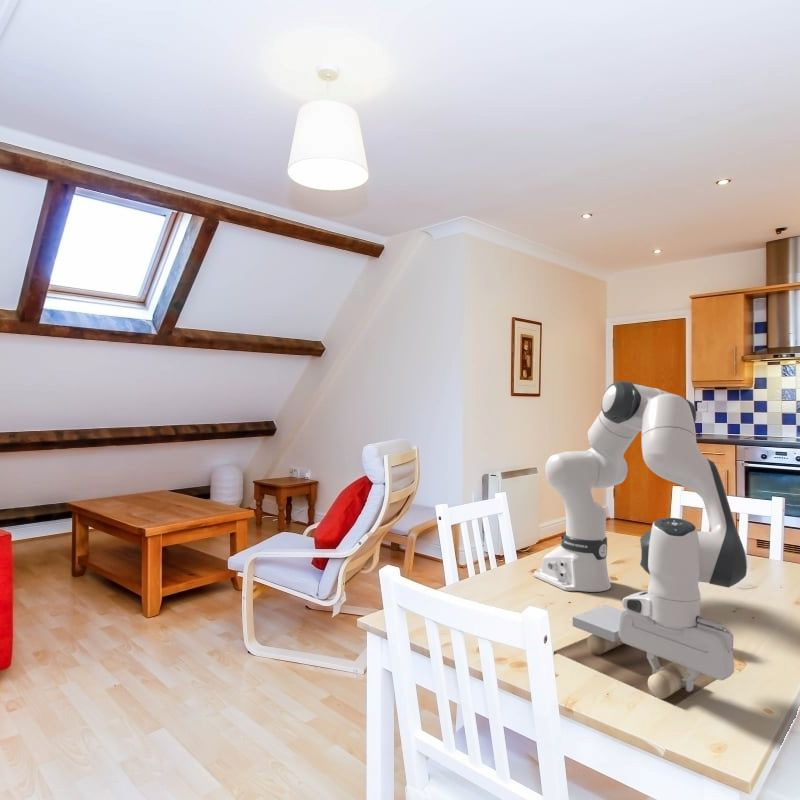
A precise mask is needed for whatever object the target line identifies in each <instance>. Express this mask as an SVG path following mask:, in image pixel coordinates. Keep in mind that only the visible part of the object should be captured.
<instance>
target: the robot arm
mask: <svg viewBox="0 0 800 800" xmlns="http://www.w3.org/2000/svg"><path fill="white" fill-rule="evenodd" d="M696 420H697V411H696V406H695V405H694V404H693V403H692V402H691V401H690V400H689V399H687V398H684V396H681V395H678V394H675V393H670V392H668V391H664V390H662V389H660V388H656V387H654V388H653V387H650V386H645V385H641V384H635V383H633V382H630V381H626V380H625V381H624V380H623V381H622V380H620V381H619V380H618V381H617V380H616V381H614V382H613V383H612V384H610V385H609V386H608V387H607V389H606V390H605V392H604V393H603V396H602V401H601V411H600V412H599V414H598V415H597V416H596V418H595V420H594V421H593V423H592V424H591V426H590V428H588V431H587V439H588V443H589V446H590V448H589V449H587V450H575V451H572V450H571V451H570V450H569V451H567V450H566V451H563V452H559V453H555V454H552V455H550V456H549V457H548V459H547V460H546V462H545V466H544V474H545V478H546V481H548V483H549V485H550V486H552V487H553V488H554V489H555V490H556V491H557V493H558V494H559V496H560V497H561V500H562V502H563V505H564V509H565V511H564V512H565V533H563V534H561V535H558V536H557V537H558V539H557V541H560V540H561V542H560V545H559V546H558V547H556V548H554V549H552V550H551V551H550V552H548V553H546V554H545V555H544V556H543V559H542V562H541V567H540V568H538V569H536V570H535V571H533V577H535V578H536V579H539V580H541V581H544V582H546V583H548V584H551V585H552V586H554V587H557V588H559V589H561V590H564V591H569V592H570V591H571V592H572V591H573V592H575V591H576V592H577V591H578V592H589V593H590V592H591V593H596V592H598V593H599V592H603V591H604V592H605V591H608V590H610V589H611V588H612V585H611V582H610V581H611V580H610V576H609V571H608V570H609V569H608V564H607V563H608V562H607V555H608V537H607V534H606V532H607V527H606V526H607V525H606V524H607V513H606V511H605V508H604V507H603V506H602V505H601V504H599V502H596V501H595V500H594V498H593V494H592V489H604V488H605V489H606V488H610V487H614V486H617V485H620V484H622V483H623V482H624V481H625V480H626V479H627V475H628V473H629V472H628V471H629V469H628V468H629V467H628V463H627V461H626V459H625V458H624V455H625V453H626V451H628V450H627V449H628V448H629V447H630V445H631V444H632V443H633V441H634V440H635V438H636V437H637V436H638V434H639V432H641V437H640V438H641V451H642V453H641V454H642V459H643V462H644V463H645V465H646V466H647V468H648V469H649V470H650V471H651V472H652V473H654V474H655V475H656V476H658V477H659V478H662V479H663V480H666V481H669V482H672V483H675V484H678V485H680V486H683V487H685V488H687V489H689V490H691V491H693V493H696V494H697V495H698V496H699V497H700V498H701V499H702V501H703V505H704V507H705V510H706V515H707V519H708V522H709V527H710V530H711V531H710V530H709V531H701V530H698V529H697V527H696V525H695V524H694V523H692V522H690V521H689V520H686V519H682V518H676V517H664V518H663V517H662V518H658V519H656V520H654V521H653V523H652V525H651V528H650V529H649V530H648V531H646V532H645V533H644V534H643V535H642V536H641V537H640V543H639V544H640V549H641V550H640V551H641V556H640V557H641V560H640V562H639V566H641V568H642V569H643V570H644V571H645V572H646V573H648V575H649V582H648V586H647V590H646V591H639V592H634V593H631V594H629V595H627V596H625V597H623V598H622V601H621V602H622V603H621V604H622V607H623V610H622V609H621V610H622V612H621V614H620V620H619V637H620V639H621V641H622V642H623V643H625V644H628V645H630V646H633V647H635V648H638V649H640V650H643V651H646V652H647V659H648V661H649V663H650V665H651V667H652V675H653V674H655V673H657V672H659V671H661V670H663V669H664V668H663V667H661V666H660V663H659V661H658V658H657V657H661V658H664V659H666V660H669V661H672V662H674V663H677V664H679V665H682V666H685V667H687V673H689V674H690V675H689V677H684V678H683V679H681V689H684V690H686V691H689V692H690V691H692V690H693V684H694V680H695V678H696V677H697V676H698V675H699V673H703V674H705V675H708V676H710V677H713V678H716V680H719V681H725V680H727V679H729V678H730V677H732V675H733V674H734V673H735V659H734V653H733V648H734V635H733V633H732V632H731V631H730V629H729V628H727V627H726V625H724V624H723V623H721V622H715V621H713V620H710V619H708V618H705V617H701V592H700V588H699V582H700V583H707V584H709V585H713V586H718V587H723V588H730V587H733V586H734V585H736V584H738V583H739V582H741V581H742V580H743V579H744V578H745V577H746V576H747V572H748V571H747V570H748V558H747V554H746V550H745V548H744V545H743V543H742V540H741V536H740V535H739V533H738V530H737V527H736V523H735V521H734V520H735V519H734V517H733V514H732V510H731V506H730V503H729V499H728V497H727V493H726V490H725V488H724V484H723V480H722V477H721V475H720V472H719V470H718V467H717V466H716V464H715V462H714V461H712V460H710V459H709V458H707V457H706V456H705V455H704V454H703V453H702V452H701V450H700V449H699V446H698V443H697V434H696V433H697V432H696V426H695V424H696Z"/></svg>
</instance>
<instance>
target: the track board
mask: <svg viewBox="0 0 800 800" xmlns="http://www.w3.org/2000/svg"><path fill="white" fill-rule="evenodd" d="M557 654H558V655H560V656H562V657H565V658H567V659H570V660H572V661H574V662H576V663H579V664H580V665H583V666H585V667H587V668H590V669H592V670H594V671H596V672H599V673H601V674H602V675H605V676H607V677H609V678H611V679H614V680H617V681H618V682H620V683H623V684H626V685H628V686H630V687H632V688H634V689H636V690H639V691H641V692H643V693H646V694H648V695H650V696H652V697H655V698H657V697H656V696H654V695H653V694H652V692H651V691H650V689H649V687H648V679H649V677H650V676H651V675H652V667H651V665H650V663H649V661H648V659H647V652H646V651H643V650H640V649H638V648H635V647H633V646H630V645H628V644H625V643H623V642H622V641H621V640H619V641H616V642H612V641H609V640H607V639H604V638H602V637H599V636H597V635H594V634H590V635H589V636H588V637H585V638H582V639H581V640H578V641H575V642H573V643H569V644H568V645H565V646H563V647H561V648H559V649H556V650H553V656H555V655H557ZM657 658H658V661H659V663H660V666H661V667H663V668H666V667H668V666H670V665H672V664H674V662H672V661H669V660H666V659H664V658H661V657H657ZM715 680H717V679H716V678H713V677H710V676H708V675H705V674H703V673H699V675H698V676H697V677H696V679H695V681H694V684H693V690H692V691H690V692H689V691H686V690H684V689H680V690H678V691H677V692H675V693H673V694H672V695H670V696H668V697H667V698H665V699H660V698H658V699H659V700H661V701H664V702H666V703H668V704H670V705H672V706H676V705H678V704H679V703H681V702H683V701H684V700H685V699H687V698H688V697H690V696H692V695H694V694H695V693H696V692H699V691H700V690H702V689H703V688H705V687H706V686H708V685H710V684H711V683H713V682H714V681H715Z"/></svg>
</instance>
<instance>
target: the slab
mask: <svg viewBox="0 0 800 800" xmlns="http://www.w3.org/2000/svg"><path fill="white" fill-rule="evenodd" d="M621 612H622V609H618V608H615V607H613V606H609V605H606V604H604V605H602V606H598V607H596V608H593V609H591V610H588V611H584V612H582V613H580V614H577V615H574V616H572V627H574V628H577V629H579V630H582V631H584V632H586V633H589V634H590V635H592V634H594V635H597V636H599V637H602V638H604V639H607V640H609V641H612V642H616V641H619V640H621V639H620V637H619V620H620V614H621Z"/></svg>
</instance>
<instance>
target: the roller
mask: <svg viewBox="0 0 800 800" xmlns="http://www.w3.org/2000/svg"><path fill="white" fill-rule="evenodd" d="M689 675H690V674H689V673H687V667H685V666H682V665H679V664H677V663H674V664H672V665H670V666H668V667H666V668H664V669H663V670H661V671H659V672H657V673H655V674H653V675H651V676H650V677H649V679H648V687H649V689H650V691H651V692H652V694H653V695H654V696H656V697H655V698H657V699H659V698H660V699H659V700H661V699H665V698H667V697H668V696H670V695H672V694H673V693H675V692H677V691H678V690H680V689H681V679H683V678H684V677H689ZM695 679H696V678H695ZM694 681H695V680H694ZM654 696H653V697H654Z"/></svg>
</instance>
